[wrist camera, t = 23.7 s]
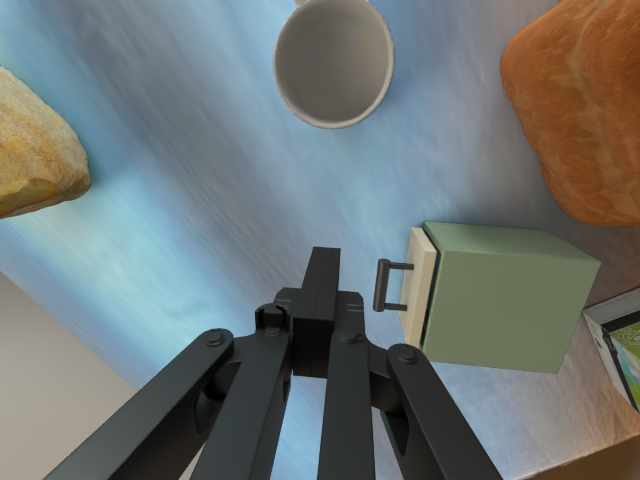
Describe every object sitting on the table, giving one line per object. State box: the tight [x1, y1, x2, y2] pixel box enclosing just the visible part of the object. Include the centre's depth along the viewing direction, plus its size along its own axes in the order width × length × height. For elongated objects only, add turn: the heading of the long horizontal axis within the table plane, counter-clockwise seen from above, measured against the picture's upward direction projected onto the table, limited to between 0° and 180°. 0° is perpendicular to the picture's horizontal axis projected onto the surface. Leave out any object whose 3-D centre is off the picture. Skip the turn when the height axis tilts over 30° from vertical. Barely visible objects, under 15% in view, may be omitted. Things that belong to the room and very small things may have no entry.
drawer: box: [373, 227, 441, 348], centre depth 38 cm, size 18×12×8 cm
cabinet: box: [419, 222, 601, 374], centre depth 38 cm, size 15×14×10 cm
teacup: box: [273, 0, 395, 129], centre depth 31 cm, size 14×11×8 cm
